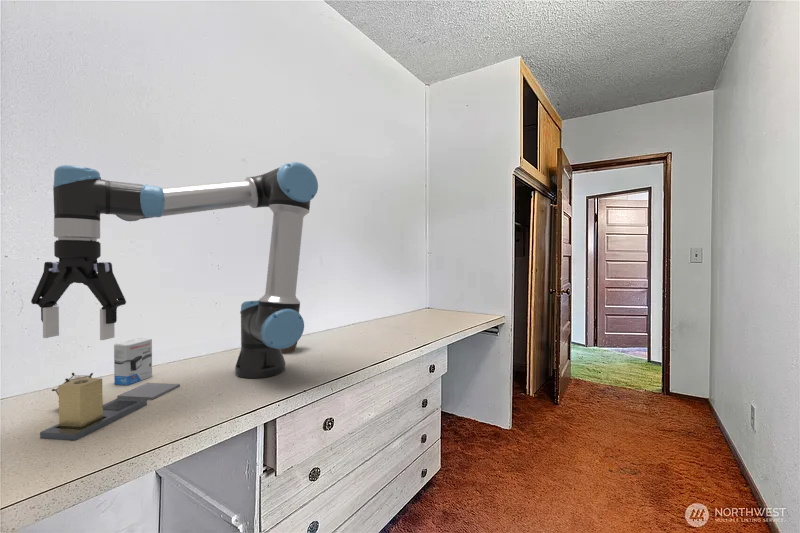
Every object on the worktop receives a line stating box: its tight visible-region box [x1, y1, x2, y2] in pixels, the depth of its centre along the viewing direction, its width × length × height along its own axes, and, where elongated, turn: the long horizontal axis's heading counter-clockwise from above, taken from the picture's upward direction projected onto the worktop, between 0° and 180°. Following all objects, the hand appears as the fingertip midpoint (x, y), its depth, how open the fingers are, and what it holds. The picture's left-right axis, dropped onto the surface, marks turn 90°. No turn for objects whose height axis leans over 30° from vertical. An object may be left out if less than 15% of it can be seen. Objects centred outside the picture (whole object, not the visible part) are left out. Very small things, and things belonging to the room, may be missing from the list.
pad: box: [116, 382, 181, 401], centre depth 100 cm, size 10×10×1 cm
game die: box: [51, 372, 94, 403], centre depth 90 cm, size 9×8×10 cm
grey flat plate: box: [39, 397, 148, 441], centre depth 83 cm, size 8×18×1 cm, turn 174°
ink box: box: [113, 337, 153, 386], centre depth 109 cm, size 8×5×12 cm, turn 168°
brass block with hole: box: [58, 377, 104, 430], centre depth 79 cm, size 5×5×10 cm
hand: (79, 337), depth 80 cm, fingers open, 13 cm apart
